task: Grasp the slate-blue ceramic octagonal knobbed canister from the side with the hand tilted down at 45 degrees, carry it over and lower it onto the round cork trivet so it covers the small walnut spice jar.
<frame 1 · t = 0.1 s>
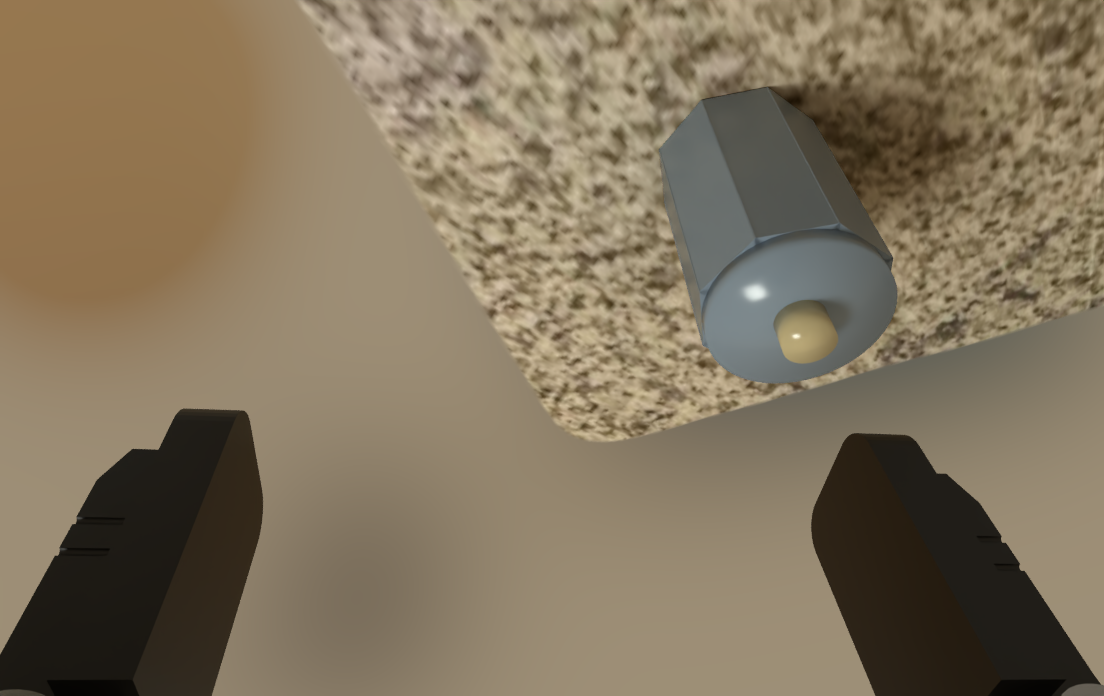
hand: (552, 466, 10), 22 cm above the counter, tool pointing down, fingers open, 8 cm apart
octagonal knobbed canister: (735, 161, 33), on the counter
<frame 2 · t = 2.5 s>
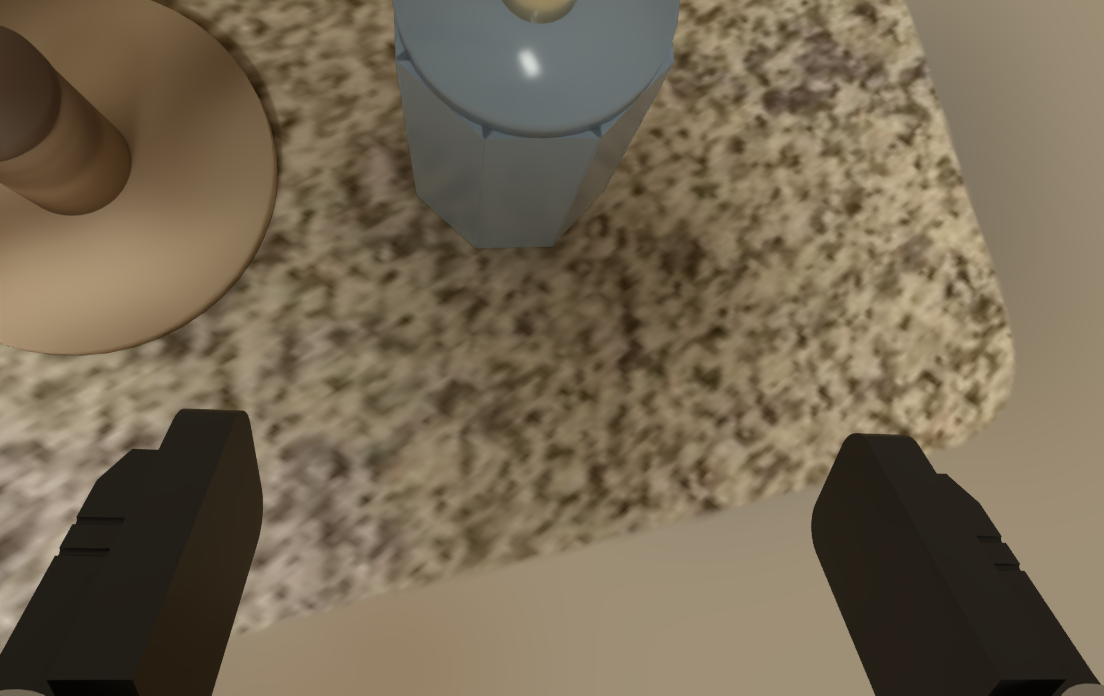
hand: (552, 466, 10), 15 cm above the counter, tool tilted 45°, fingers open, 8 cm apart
trivet: (86, 172, 25), on the counter
octagonal knobbed canister: (509, 158, 27), on the counter
spice jar: (74, 163, 24), point 1 cm above the counter, touching trivet
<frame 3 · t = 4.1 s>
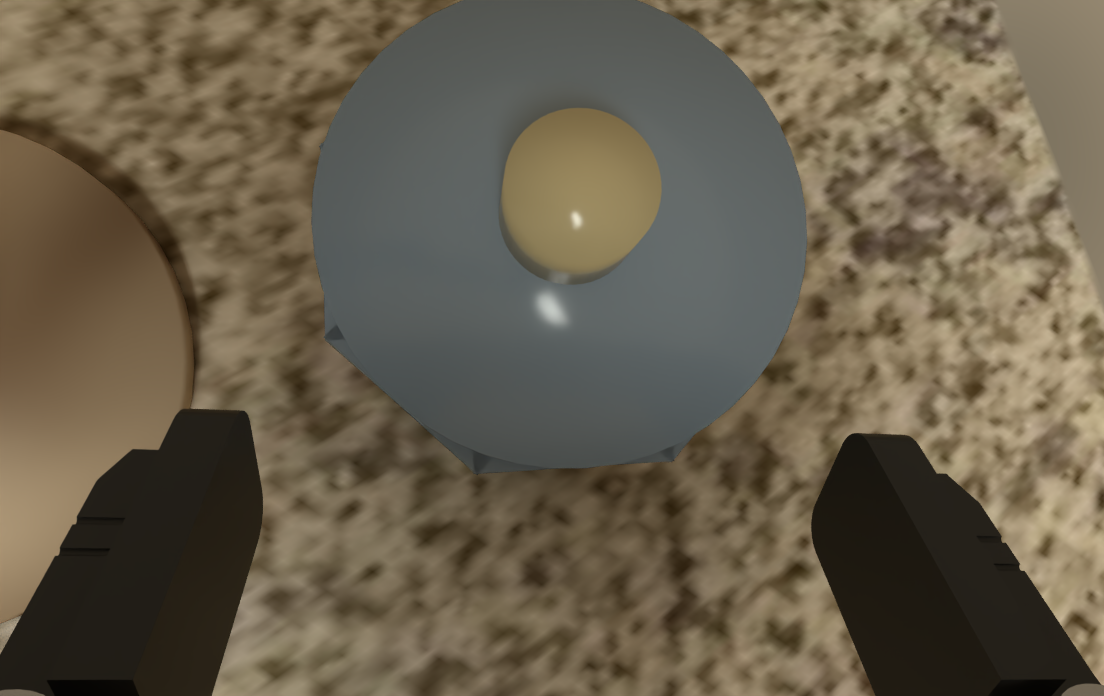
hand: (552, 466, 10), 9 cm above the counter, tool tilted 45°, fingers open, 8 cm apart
octagonal knobbed canister: (513, 336, 20), on the counter
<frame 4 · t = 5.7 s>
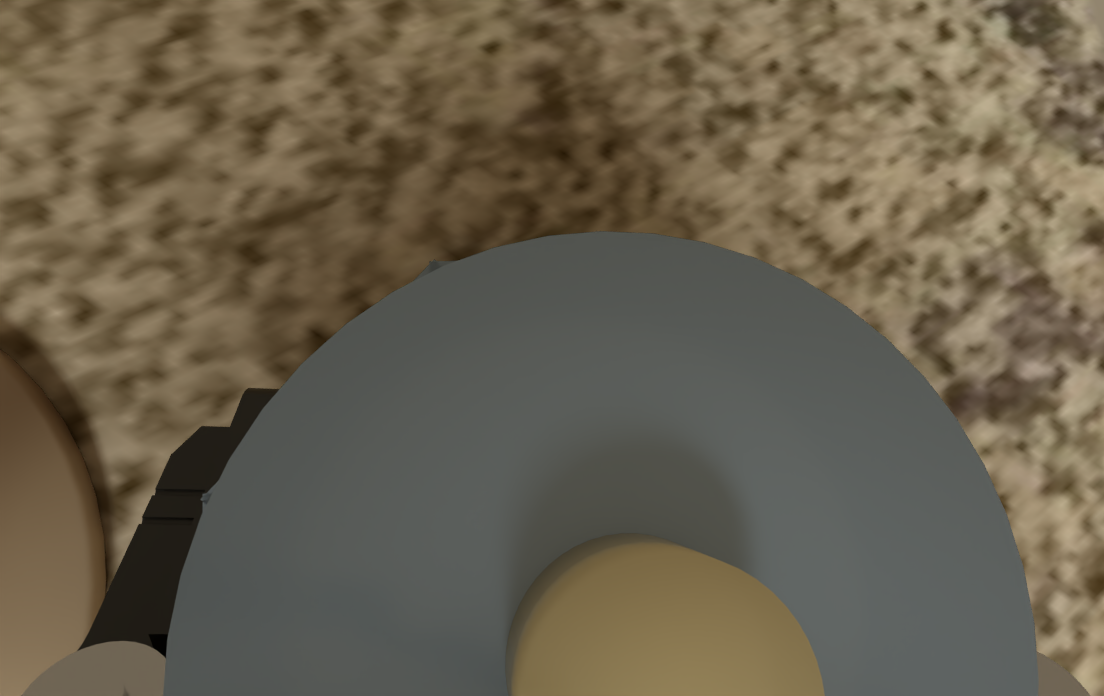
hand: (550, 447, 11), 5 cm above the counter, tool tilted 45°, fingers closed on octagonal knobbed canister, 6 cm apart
octagonal knobbed canister: (521, 530, 15), on the counter, touching gripper
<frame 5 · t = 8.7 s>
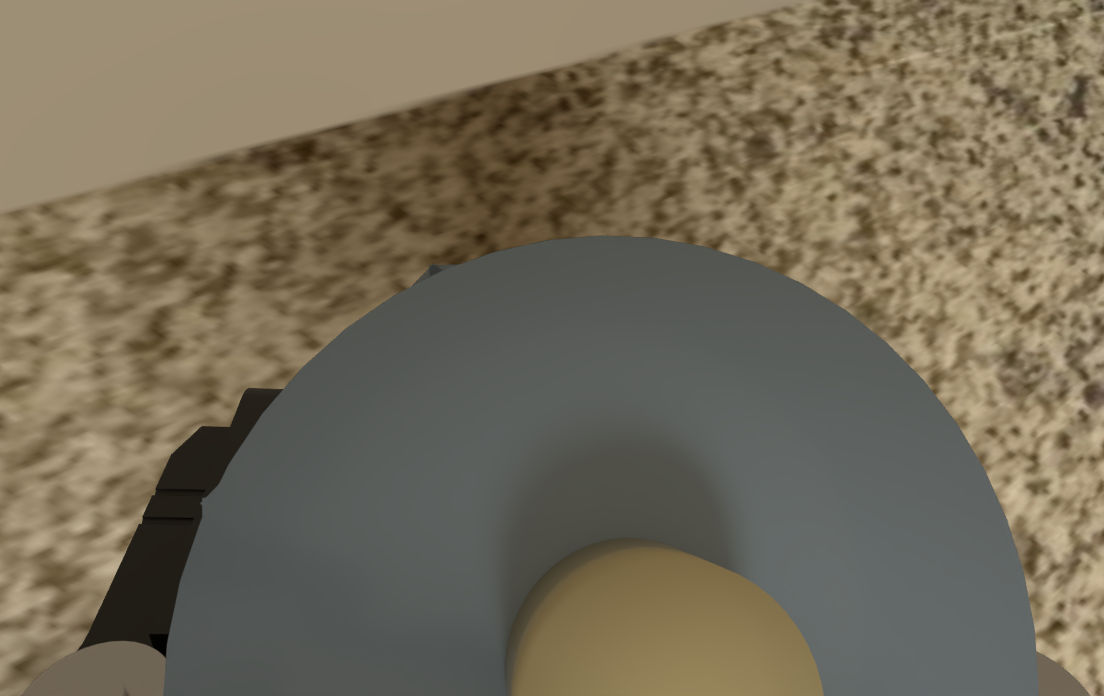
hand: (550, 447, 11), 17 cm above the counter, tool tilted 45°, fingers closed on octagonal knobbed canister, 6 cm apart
octagonal knobbed canister: (521, 532, 15), point 12 cm above the counter, touching gripper
when the fingers open (7 cm above the counter, at t = 11.5 s): octagonal knobbed canister drops 1 cm, resting on trivet.
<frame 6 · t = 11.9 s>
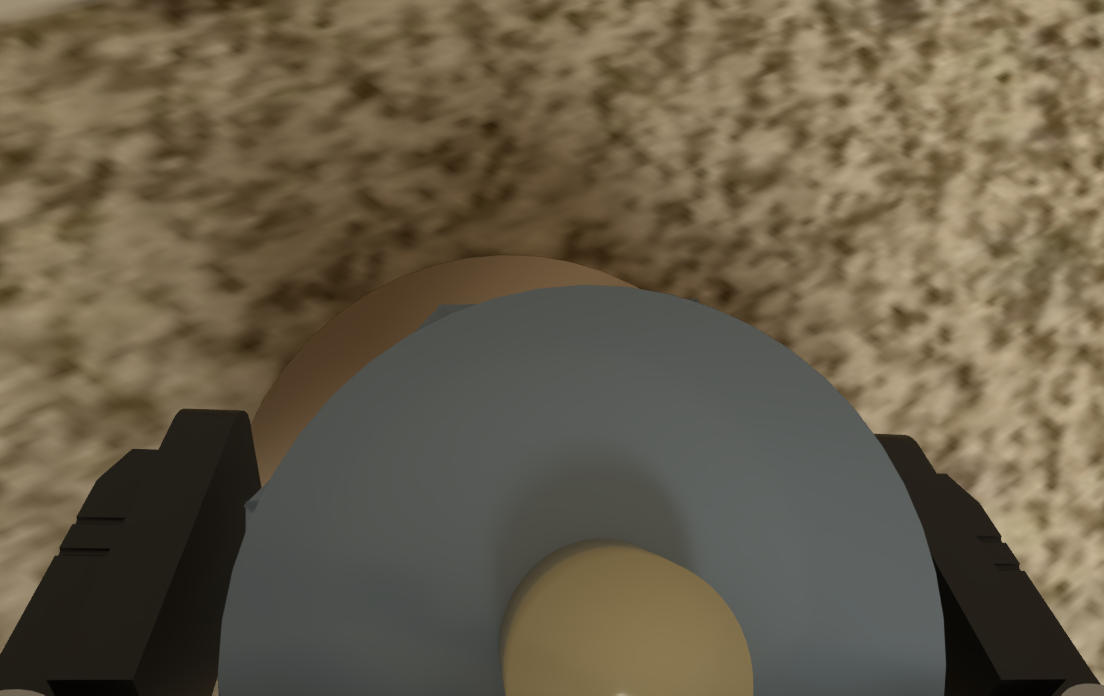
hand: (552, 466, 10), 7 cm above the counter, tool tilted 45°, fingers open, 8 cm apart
trivet: (513, 523, 17), on the counter
octagonal knobbed canister: (517, 532, 17), point 1 cm above the counter, touching trivet
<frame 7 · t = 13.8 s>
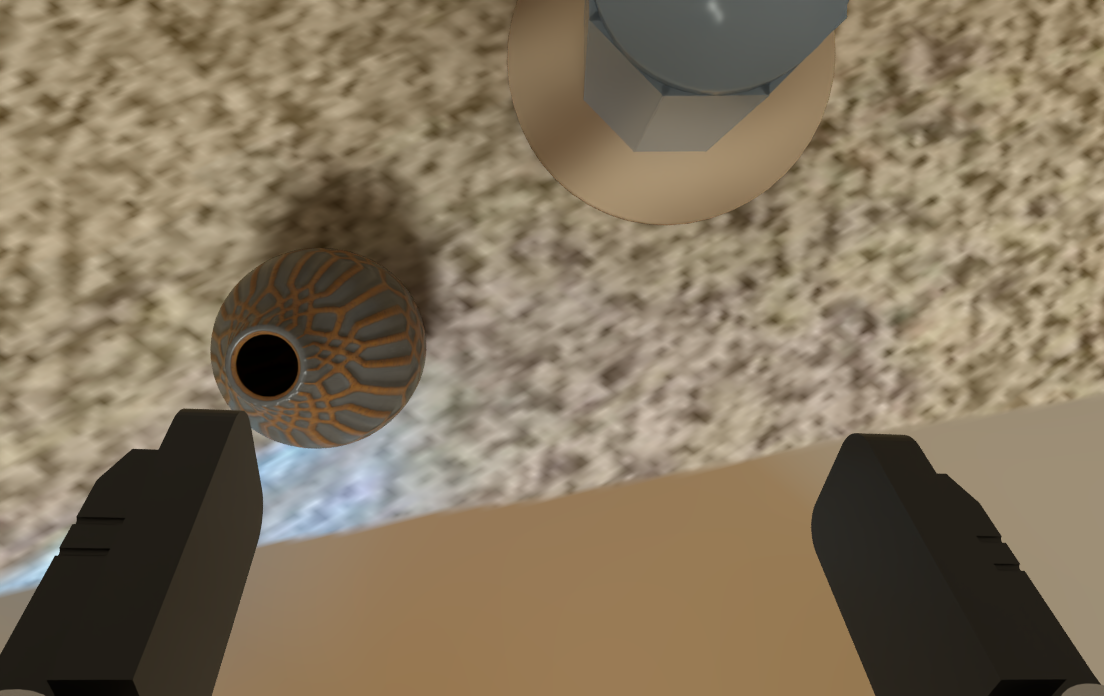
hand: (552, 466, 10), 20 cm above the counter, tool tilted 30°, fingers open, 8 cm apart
trivet: (667, 64, 29), on the counter
octagonal knobbed canister: (671, 62, 28), point 1 cm above the counter, touching trivet
vase: (354, 337, 31), on the counter
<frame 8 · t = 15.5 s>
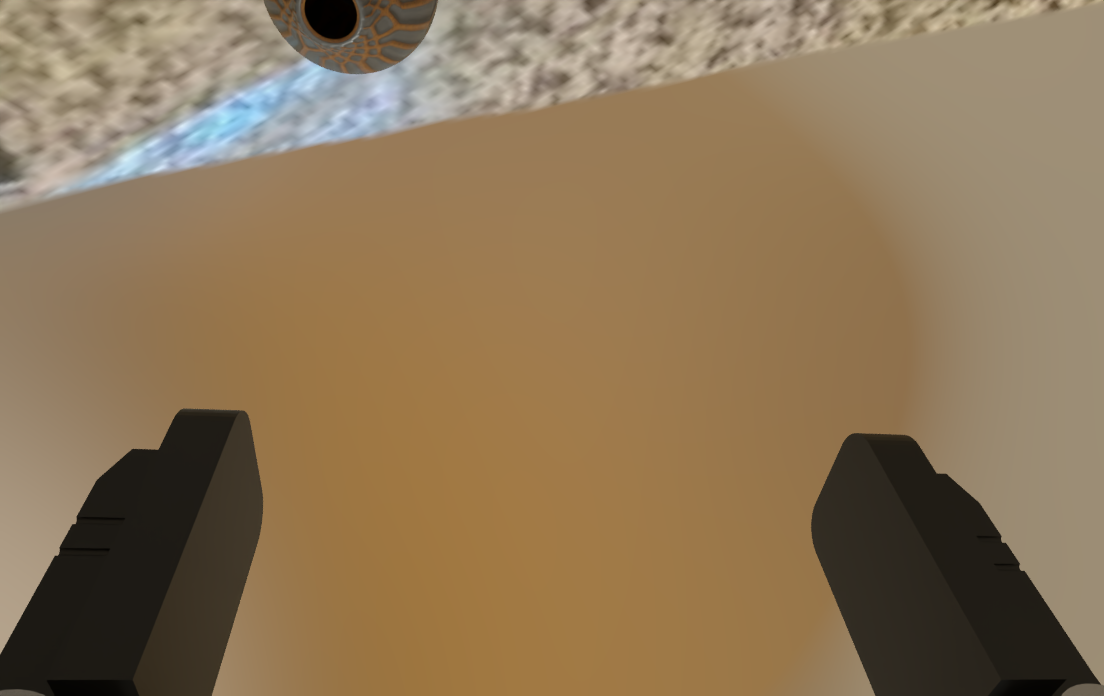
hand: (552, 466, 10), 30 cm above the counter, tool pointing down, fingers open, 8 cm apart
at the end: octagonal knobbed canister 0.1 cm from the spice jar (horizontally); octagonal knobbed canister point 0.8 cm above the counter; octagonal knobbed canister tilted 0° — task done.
